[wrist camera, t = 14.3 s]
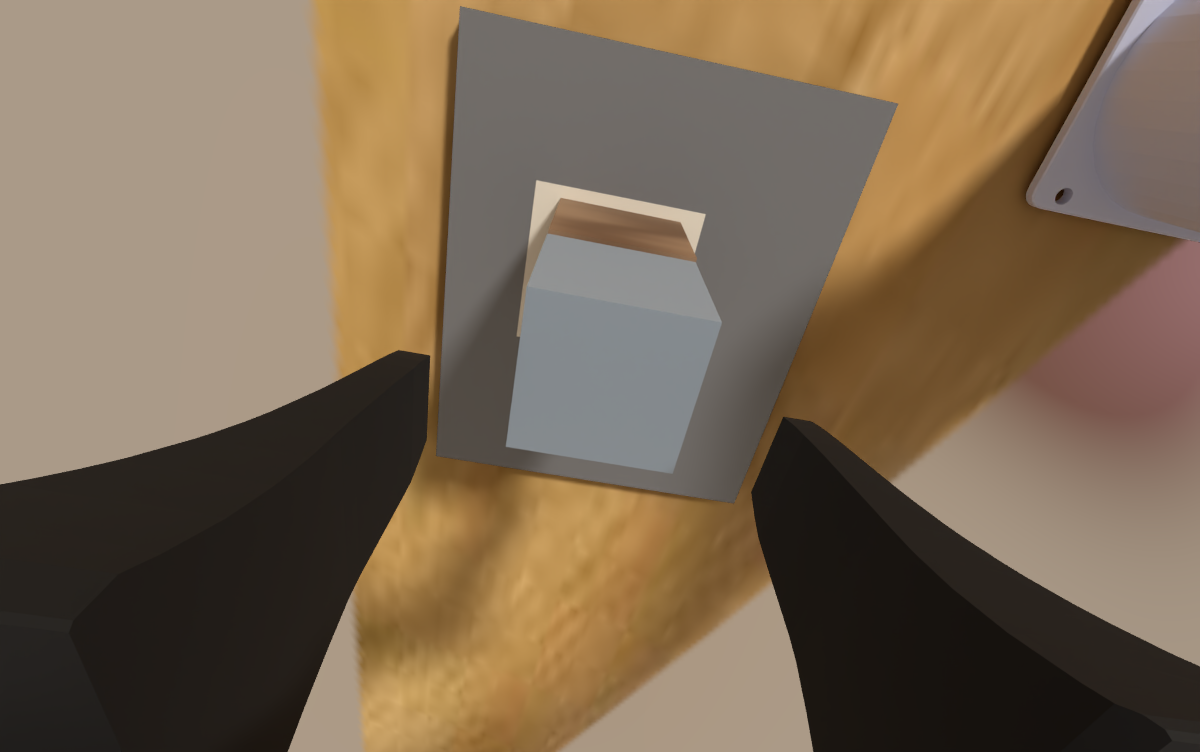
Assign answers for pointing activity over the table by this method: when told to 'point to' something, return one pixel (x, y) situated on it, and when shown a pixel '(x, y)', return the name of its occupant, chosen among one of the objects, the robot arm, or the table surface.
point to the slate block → (610, 354)
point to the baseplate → (650, 187)
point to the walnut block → (621, 229)
